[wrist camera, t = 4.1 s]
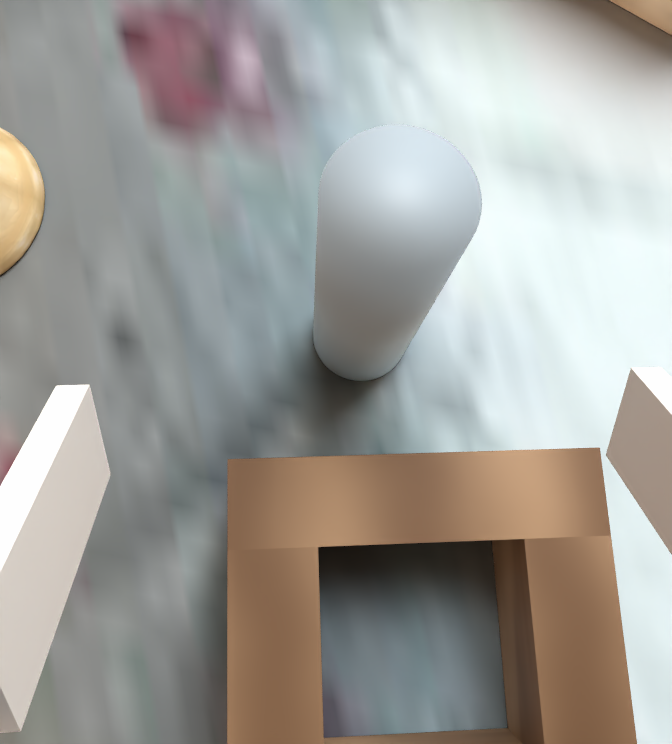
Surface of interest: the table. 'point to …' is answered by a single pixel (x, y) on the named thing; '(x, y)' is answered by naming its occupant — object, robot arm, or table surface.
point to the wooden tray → (650, 11)
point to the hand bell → (18, 200)
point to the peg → (387, 243)
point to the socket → (425, 525)
